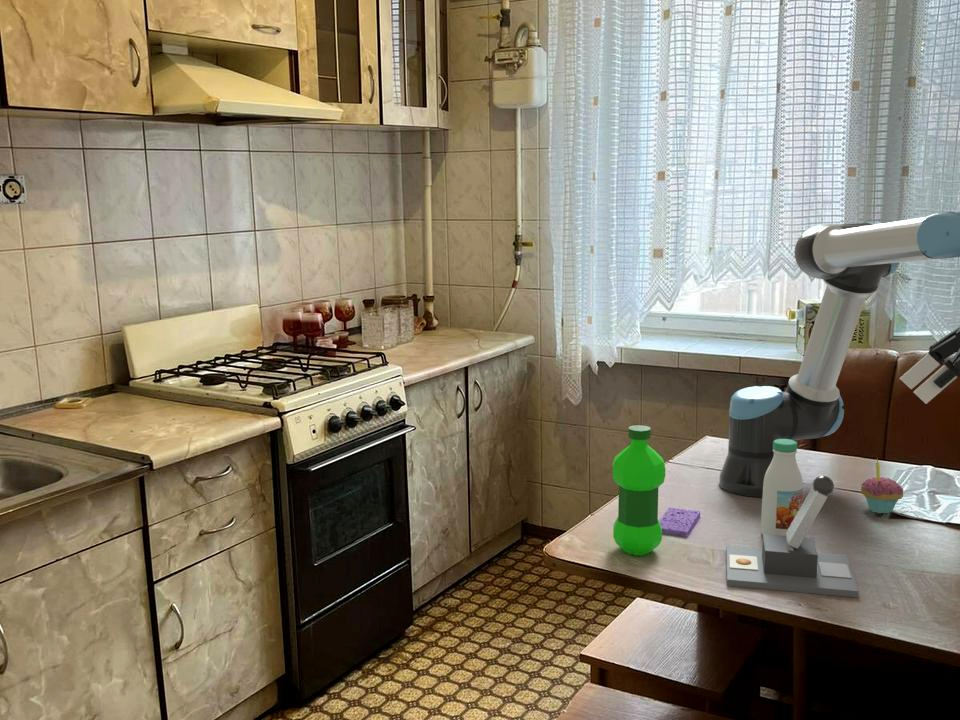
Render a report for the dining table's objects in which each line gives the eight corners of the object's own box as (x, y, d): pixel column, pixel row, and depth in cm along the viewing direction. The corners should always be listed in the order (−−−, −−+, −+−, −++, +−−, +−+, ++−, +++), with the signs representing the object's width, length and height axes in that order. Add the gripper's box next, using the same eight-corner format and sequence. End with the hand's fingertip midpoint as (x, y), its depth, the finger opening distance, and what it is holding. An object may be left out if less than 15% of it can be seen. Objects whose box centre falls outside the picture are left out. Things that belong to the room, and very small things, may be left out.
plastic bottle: (641, 536, 187) (643, 418, 182) (674, 554, 177) (677, 431, 173) (600, 545, 182) (602, 425, 177) (632, 565, 173) (634, 438, 168)
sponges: (700, 518, 197) (700, 510, 197) (687, 539, 186) (687, 531, 186) (668, 514, 200) (668, 506, 200) (653, 534, 189) (653, 526, 189)
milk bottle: (759, 540, 184) (764, 445, 180) (761, 526, 191) (766, 434, 187) (799, 544, 181) (805, 448, 177) (800, 530, 188) (805, 437, 184)
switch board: (845, 560, 173) (847, 530, 172) (857, 597, 158) (860, 564, 157) (726, 550, 179) (727, 521, 178) (727, 585, 164) (728, 553, 162)
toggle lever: (799, 539, 170) (835, 476, 166) (802, 551, 164) (839, 486, 160) (781, 530, 170) (817, 468, 166) (783, 542, 165) (820, 477, 161)
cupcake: (881, 519, 194) (885, 465, 191) (850, 506, 201) (854, 454, 199) (910, 512, 197) (914, 459, 195) (879, 500, 205) (883, 449, 202)
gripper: (1054, 327, 140) (943, 421, 146) (1008, 311, 164) (914, 392, 170) (1017, 293, 141) (908, 388, 147) (976, 282, 164) (884, 364, 171)
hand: (911, 390), depth 158 cm, fingers open, 13 cm apart
